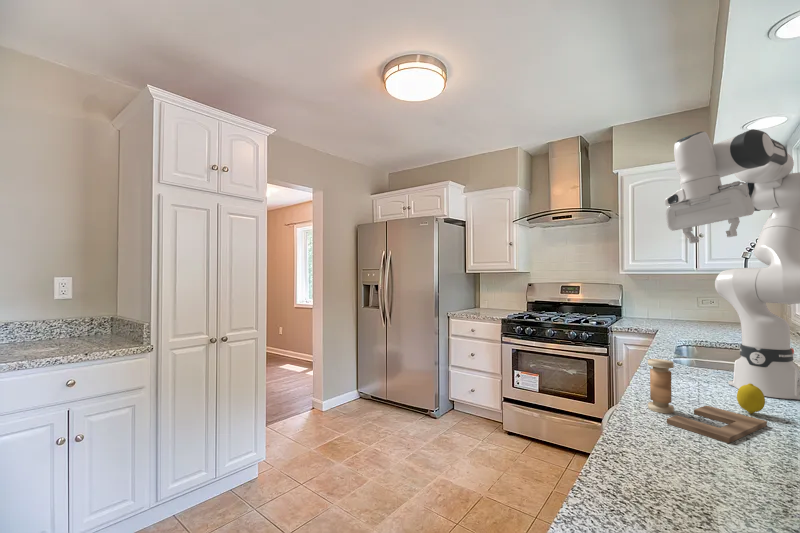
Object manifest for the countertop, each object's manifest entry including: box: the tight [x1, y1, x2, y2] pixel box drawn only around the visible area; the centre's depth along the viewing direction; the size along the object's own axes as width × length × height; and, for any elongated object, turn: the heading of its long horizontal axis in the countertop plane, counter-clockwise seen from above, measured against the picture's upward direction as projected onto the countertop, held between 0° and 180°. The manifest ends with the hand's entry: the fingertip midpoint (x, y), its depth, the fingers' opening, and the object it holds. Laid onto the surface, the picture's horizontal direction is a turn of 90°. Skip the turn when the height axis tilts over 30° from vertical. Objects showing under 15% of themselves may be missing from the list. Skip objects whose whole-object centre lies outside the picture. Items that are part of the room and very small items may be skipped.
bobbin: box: [647, 358, 675, 414], centre depth 105 cm, size 6×6×13 cm
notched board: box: [666, 405, 768, 444], centre depth 95 cm, size 20×12×1 cm, turn 119°
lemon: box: [736, 383, 766, 415], centre depth 102 cm, size 6×6×8 cm
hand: (712, 240), depth 106 cm, fingers open, 8 cm apart
